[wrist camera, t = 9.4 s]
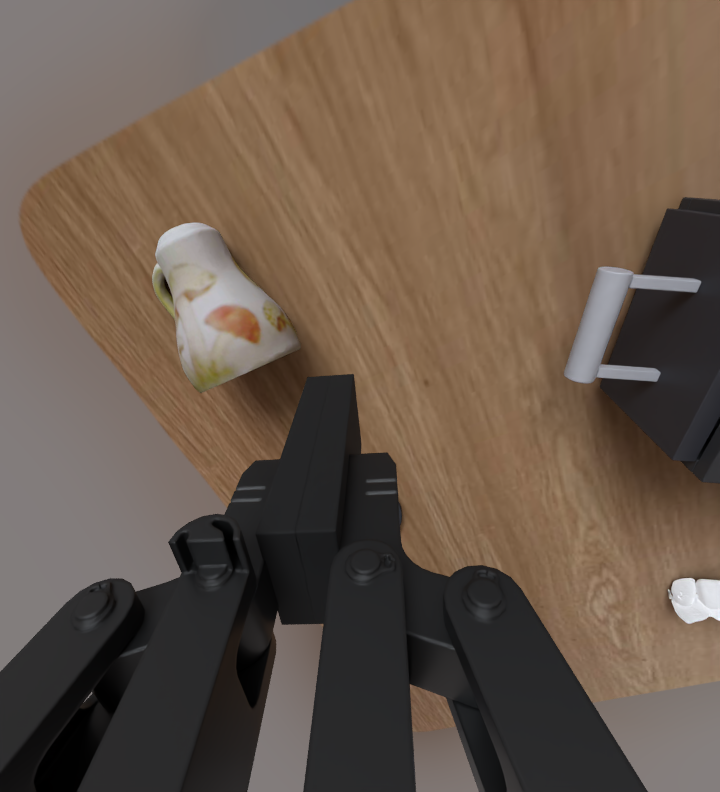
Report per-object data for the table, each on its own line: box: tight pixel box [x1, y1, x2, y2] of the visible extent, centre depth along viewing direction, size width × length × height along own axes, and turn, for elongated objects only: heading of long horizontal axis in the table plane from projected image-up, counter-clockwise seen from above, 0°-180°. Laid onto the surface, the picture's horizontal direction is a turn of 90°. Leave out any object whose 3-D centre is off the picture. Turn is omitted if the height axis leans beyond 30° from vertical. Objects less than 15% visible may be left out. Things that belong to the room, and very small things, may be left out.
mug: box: [152, 223, 301, 393], centre depth 26 cm, size 8×10×10 cm
